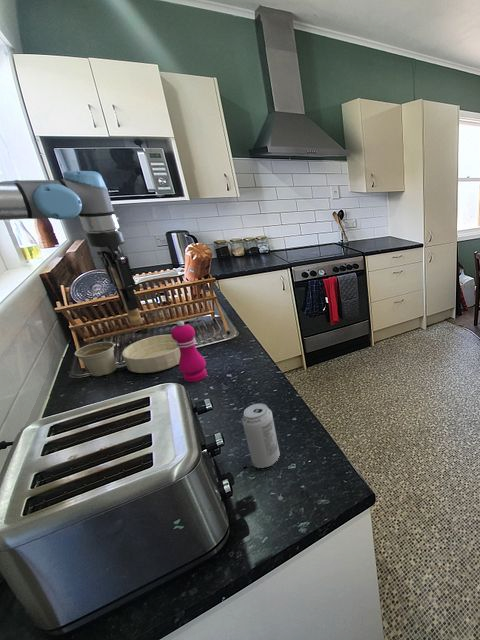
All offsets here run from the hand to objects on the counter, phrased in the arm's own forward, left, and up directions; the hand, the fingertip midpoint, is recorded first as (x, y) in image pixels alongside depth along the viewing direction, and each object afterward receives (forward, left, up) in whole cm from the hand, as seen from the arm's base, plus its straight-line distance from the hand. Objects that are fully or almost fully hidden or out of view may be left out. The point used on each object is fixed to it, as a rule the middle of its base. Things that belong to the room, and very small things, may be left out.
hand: (131, 307), depth 107 cm
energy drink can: (-6, -66, -22) cm, 70 cm away
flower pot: (-9, +11, -22) cm, 26 cm away
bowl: (+4, +3, -22) cm, 23 cm away
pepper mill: (+5, -17, -22) cm, 28 cm away
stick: (0, 0, -6) cm, 6 cm away
